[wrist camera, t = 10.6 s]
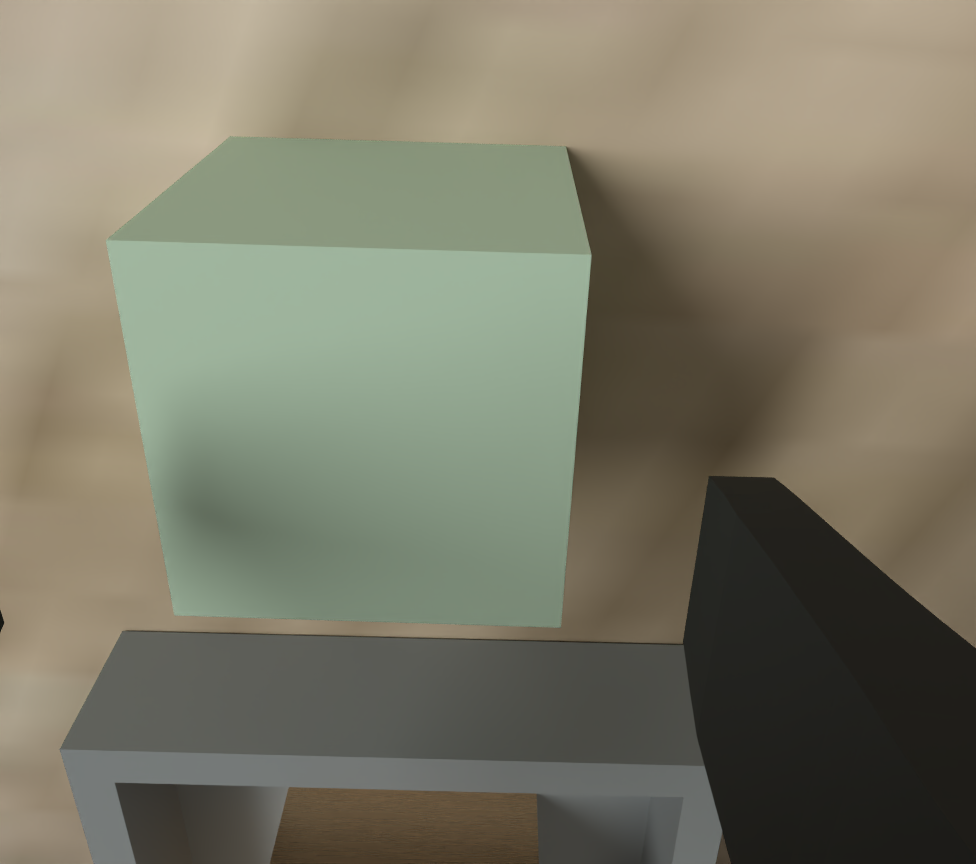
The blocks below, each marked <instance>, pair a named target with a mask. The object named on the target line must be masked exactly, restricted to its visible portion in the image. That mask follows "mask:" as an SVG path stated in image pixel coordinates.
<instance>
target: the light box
mask: <svg viewBox="0 0 976 864" xmlns="http://www.w3.org/2000/svg"><path fill="white" fill-rule="evenodd" d="M106 243H107V249H108V254H109V260H110V265H111V271H112V276H113V282H114V287H115V293H116V298H117V304H118V309H119V315H120V320H121V325H122V331H123V336H124V342H125V347H126V353H127V358H128V364H129V369H130V375H131V380H132V386H133V391H134V397H135V402H136V408H137V413H138V418H139V424H140V429H141V435H142V440H143V446H144V451H145V457H146V462H147V468H148V473H149V479H150V484H151V490H152V495H153V501H154V506H155V512H156V517H157V522H158V528H159V533H160V539H161V544H162V550H163V555H164V561H165V566H166V572H167V577H168V583H169V588H170V594H171V599H172V605H173V610H174V615H179V616H210V617H242V618H273V619H304V620H335V621H367V622H398V623H429V624H461V625H492V626H523V627H555V628H561V618H562V606H563V594H564V582H565V570H566V558H567V546H568V533H569V521H570V509H571V497H572V485H573V473H574V461H575V449H576V436H577V424H578V412H579V400H580V388H581V376H582V364H583V352H584V340H585V327H586V315H587V303H588V291H589V279H590V267H591V251H590V246H589V242H588V238H587V234H586V230H585V225H584V221H583V217H582V213H581V208H580V204H579V200H578V196H577V191H576V187H575V183H574V179H573V175H572V170H571V166H570V162H569V158H568V153H567V149H566V146H537V145H503V144H469V143H435V142H401V141H367V140H333V139H299V138H265V137H231V136H230V137H229V138H228V139H227V140H225V141H224V142H223V143H222V144H221V145H219V146H218V147H217V148H216V149H215V150H213V151H212V152H211V153H210V154H209V155H207V156H206V157H205V158H204V159H203V160H201V161H200V162H199V163H198V164H197V165H195V166H194V167H193V168H192V169H191V170H189V171H188V172H187V173H186V174H185V175H183V176H182V177H181V178H180V179H179V180H177V181H176V182H175V183H174V184H173V185H171V186H170V187H169V188H168V189H167V190H166V191H164V192H163V193H162V194H161V195H160V196H158V197H157V198H156V199H155V200H154V201H152V202H151V203H150V204H149V205H148V206H146V207H145V208H144V209H143V210H142V211H140V212H139V213H138V214H137V215H136V216H134V217H133V218H132V219H131V220H130V221H128V222H127V223H126V224H125V225H124V226H122V227H121V228H120V229H119V230H118V231H116V232H115V233H114V234H113V235H112V236H110V237H109V238H108V239H107V240H106Z"/></svg>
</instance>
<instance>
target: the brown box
mask: <svg viewBox="0 0 976 864" xmlns="http://www.w3.org/2000/svg"><path fill="white" fill-rule="evenodd" d="M270 864H539V852H538V822H537V794H532V793H494V792H456V791H417V790H379V789H341V788H303V787H289V788H288V792H287V796H286V800H285V804H284V808H283V812H282V816H281V820H280V824H279V828H278V832H277V836H276V840H275V844H274V848H273V852H272V856H271V860H270Z"/></svg>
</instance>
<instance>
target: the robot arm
mask: <svg viewBox="0 0 976 864" xmlns="http://www.w3.org/2000/svg"><path fill="white" fill-rule="evenodd" d="M3 625H4V620H3V617H2V614H1V611H0V632H1V629H2V627H3ZM683 644H684V652H685V659H686V666H687V674H688V681H689V689H690V696H691V702H692V709H693V715H694V722H695V728H696V735H697V739H698V743H699V747H700V750H701V754H702V758H703V762H704V766H705V769H706V773H707V777H708V780H709V784H710V788H711V792H712V795H713V799H714V803H715V806H716V810H717V814H718V817H719V821H720V825H721V828H722V832H723V835H724V839H725V843H726V846H727V850H728V853H729V857H730V861H731V864H976V648H975V647H973V646H972V645H971V644H970V643H968V642H967V641H966V640H965V639H963V638H962V637H961V636H960V635H958V634H957V633H956V632H955V631H953V630H952V629H951V628H950V627H948V626H947V625H946V624H945V623H943V622H942V621H941V620H940V619H938V618H937V617H936V616H935V615H933V614H932V613H931V612H930V611H929V610H927V609H926V608H925V607H924V606H923V605H921V604H920V603H919V602H918V601H916V600H915V599H914V598H913V597H912V596H911V595H909V594H908V593H907V592H906V591H905V590H903V589H902V588H901V587H900V586H899V585H898V584H896V583H895V582H894V581H893V580H892V579H890V578H889V577H888V576H887V575H886V574H885V573H884V572H882V571H881V570H880V569H879V568H878V567H877V566H875V565H874V564H873V563H872V562H871V561H870V560H869V559H867V558H866V557H865V556H864V555H863V554H862V553H861V552H859V551H858V550H857V549H856V548H855V547H854V546H853V545H851V544H850V543H849V542H848V541H847V540H846V539H845V538H844V537H842V536H841V535H840V534H839V533H838V532H837V531H836V530H834V529H833V528H832V527H831V526H830V525H829V524H828V523H827V522H825V521H824V520H823V519H822V518H821V517H820V516H819V515H818V514H816V513H815V512H814V511H813V510H812V509H811V508H810V507H809V506H807V505H806V504H805V503H804V502H803V501H802V500H801V499H799V498H798V497H797V496H796V495H795V494H794V493H792V492H791V491H790V490H789V489H788V488H786V487H785V486H784V485H783V484H781V483H780V482H779V481H778V480H776V479H775V478H764V477H724V476H709V480H708V486H707V493H706V499H705V505H704V512H703V518H702V524H701V531H700V537H699V543H698V550H697V556H696V563H695V569H694V575H693V582H692V588H691V594H690V601H689V607H688V613H687V620H686V626H685V632H684V639H683Z"/></svg>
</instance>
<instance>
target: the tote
mask: <svg viewBox="0 0 976 864" xmlns="http://www.w3.org/2000/svg"><path fill="white" fill-rule="evenodd" d="M60 752H61V756H62V759H63V762H64V766H65V769H66V772H67V776H68V779H69V782H70V786H71V789H72V792H73V796H74V799H75V803H76V806H77V809H78V813H79V816H80V819H81V823H82V826H83V829H84V833H85V836H86V839H87V843H88V846H89V849H90V853H91V856H92V860H93V863H94V864H270V860H271V856H272V852H273V848H274V844H275V840H276V836H277V832H278V828H279V824H280V820H281V816H282V812H283V808H284V804H285V800H286V796H287V792H288V788H289V787H303V788H341V789H379V790H417V791H456V792H494V793H532V794H537V822H538V852H539V864H716V859H717V855H718V850H719V845H720V841H721V836H722V828H721V825H720V821H719V817H718V814H717V810H716V806H715V803H714V799H713V795H712V792H711V788H710V784H709V780H708V777H707V773H706V769H705V766H704V762H703V758H702V754H701V750H700V747H699V743H698V739H697V735H696V728H695V722H694V715H693V709H692V702H691V696H690V689H689V681H688V674H687V666H686V659H685V652H684V645H659V644H619V643H579V642H539V641H498V640H458V639H418V638H378V637H337V636H297V635H257V634H217V633H176V632H136V631H122V633H121V635H120V637H119V639H118V641H117V642H116V644H115V646H114V648H113V650H112V652H111V654H110V656H109V658H108V659H107V661H106V663H105V665H104V667H103V669H102V671H101V673H100V674H99V676H98V678H97V680H96V682H95V684H94V686H93V688H92V690H91V691H90V693H89V695H88V697H87V699H86V701H85V703H84V705H83V706H82V708H81V710H80V712H79V714H78V716H77V718H76V720H75V722H74V723H73V725H72V727H71V729H70V731H69V733H68V735H67V737H66V738H65V740H64V742H63V744H62V746H61V748H60Z"/></svg>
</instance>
